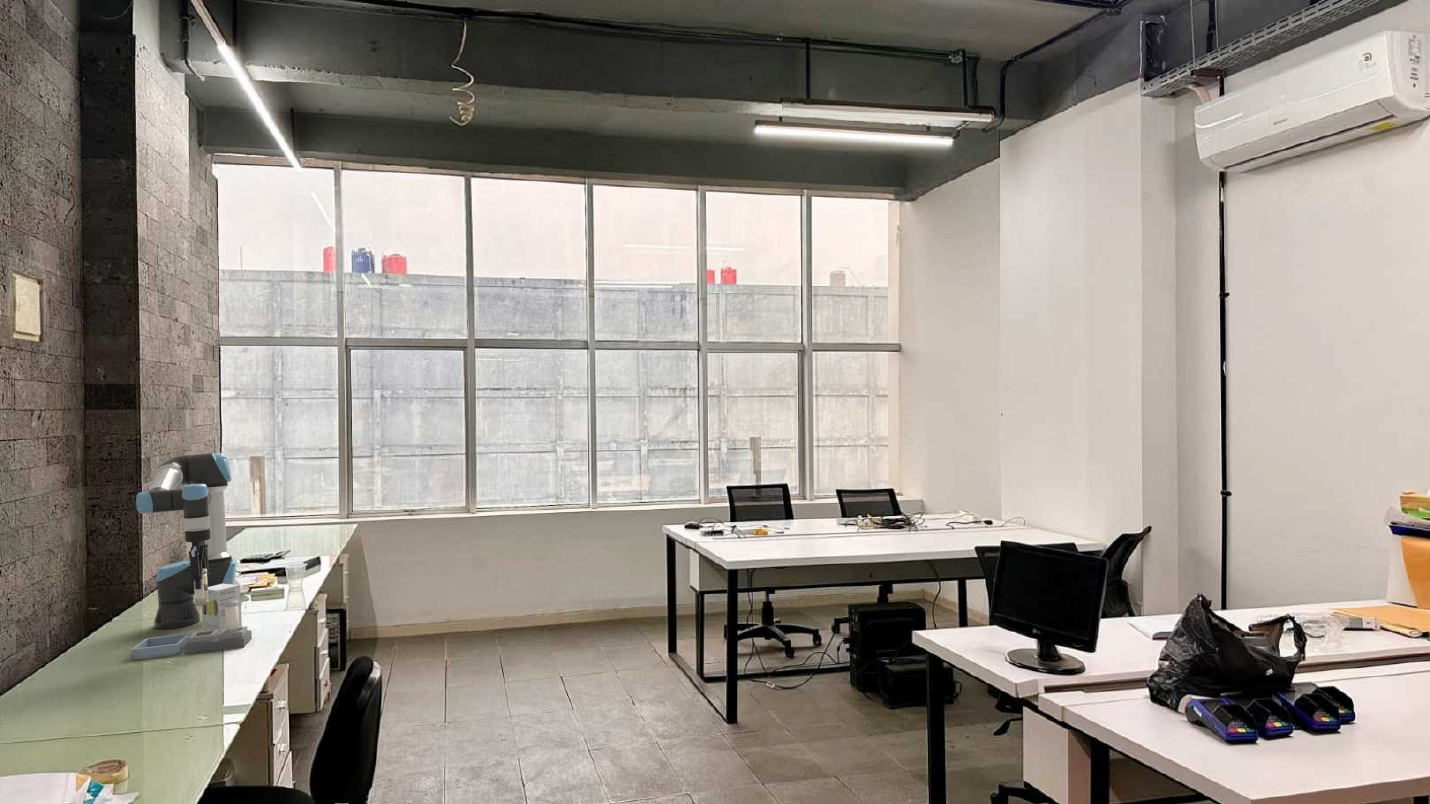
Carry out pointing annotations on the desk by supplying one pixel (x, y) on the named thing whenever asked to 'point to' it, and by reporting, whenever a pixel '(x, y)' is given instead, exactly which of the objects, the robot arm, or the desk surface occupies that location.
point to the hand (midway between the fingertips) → (201, 596)
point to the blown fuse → (204, 600)
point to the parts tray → (160, 646)
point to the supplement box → (219, 606)
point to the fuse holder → (221, 634)
